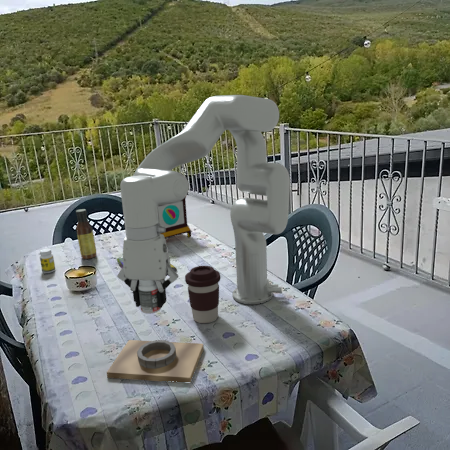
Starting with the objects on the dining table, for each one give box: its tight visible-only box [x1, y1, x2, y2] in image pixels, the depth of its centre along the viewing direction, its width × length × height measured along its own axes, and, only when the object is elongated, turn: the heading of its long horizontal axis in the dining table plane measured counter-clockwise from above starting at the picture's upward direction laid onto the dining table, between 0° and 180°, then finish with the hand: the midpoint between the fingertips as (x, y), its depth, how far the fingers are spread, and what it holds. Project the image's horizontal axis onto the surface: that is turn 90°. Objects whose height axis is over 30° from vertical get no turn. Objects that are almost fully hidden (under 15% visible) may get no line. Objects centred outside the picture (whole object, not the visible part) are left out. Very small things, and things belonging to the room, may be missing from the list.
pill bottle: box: [138, 280, 162, 315], centre depth 105 cm, size 5×5×8 cm
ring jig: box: [106, 339, 205, 383], centre depth 109 cm, size 20×14×4 cm
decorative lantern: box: [157, 194, 192, 240], centre depth 198 cm, size 20×20×30 cm
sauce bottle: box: [75, 208, 98, 260], centre depth 181 cm, size 7×6×20 cm
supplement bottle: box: [39, 248, 56, 274], centre depth 170 cm, size 5×5×8 cm
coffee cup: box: [184, 265, 221, 324], centre depth 128 cm, size 10×10×15 cm
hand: (150, 304), depth 106 cm, fingers closed on pill bottle, 4 cm apart
